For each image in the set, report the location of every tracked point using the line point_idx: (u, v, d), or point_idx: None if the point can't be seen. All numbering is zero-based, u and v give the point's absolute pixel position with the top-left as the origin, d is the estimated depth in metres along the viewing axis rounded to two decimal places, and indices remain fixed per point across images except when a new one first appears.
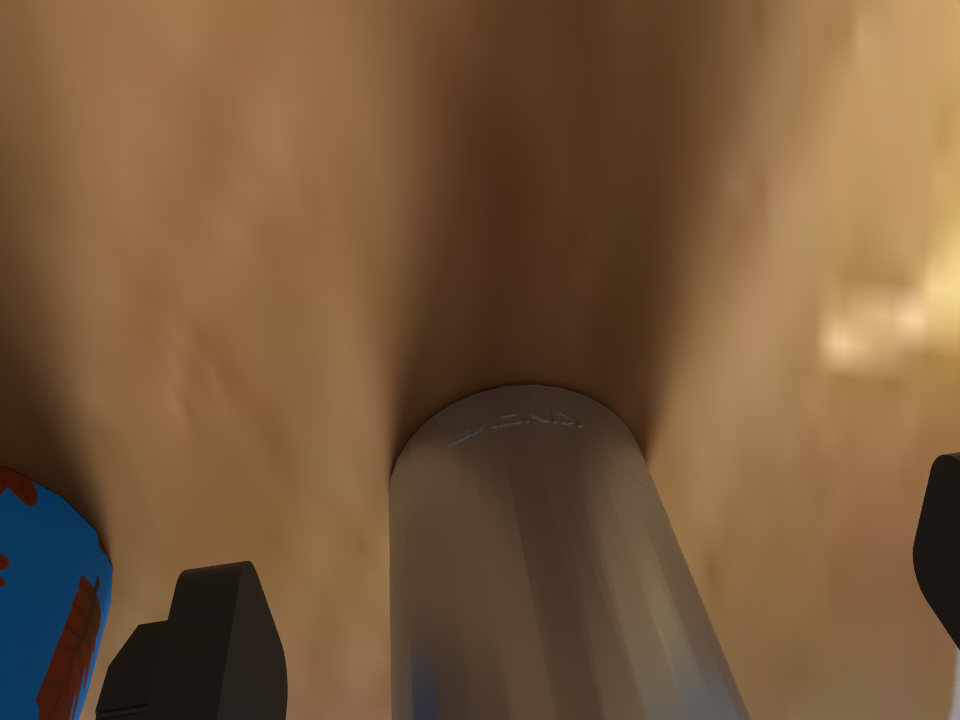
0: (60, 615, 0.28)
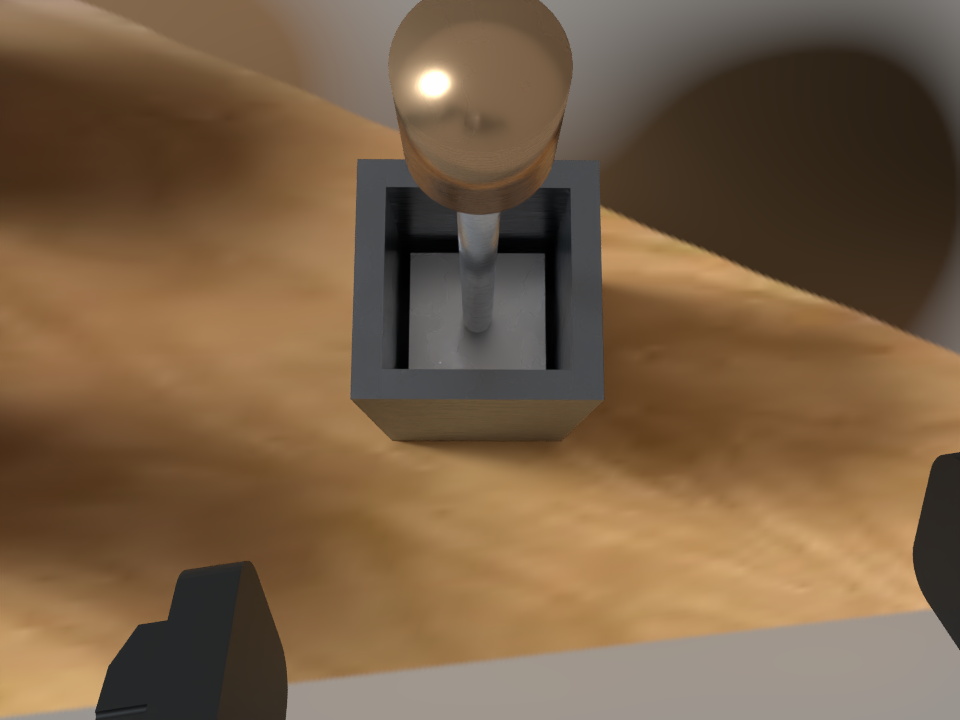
0: None
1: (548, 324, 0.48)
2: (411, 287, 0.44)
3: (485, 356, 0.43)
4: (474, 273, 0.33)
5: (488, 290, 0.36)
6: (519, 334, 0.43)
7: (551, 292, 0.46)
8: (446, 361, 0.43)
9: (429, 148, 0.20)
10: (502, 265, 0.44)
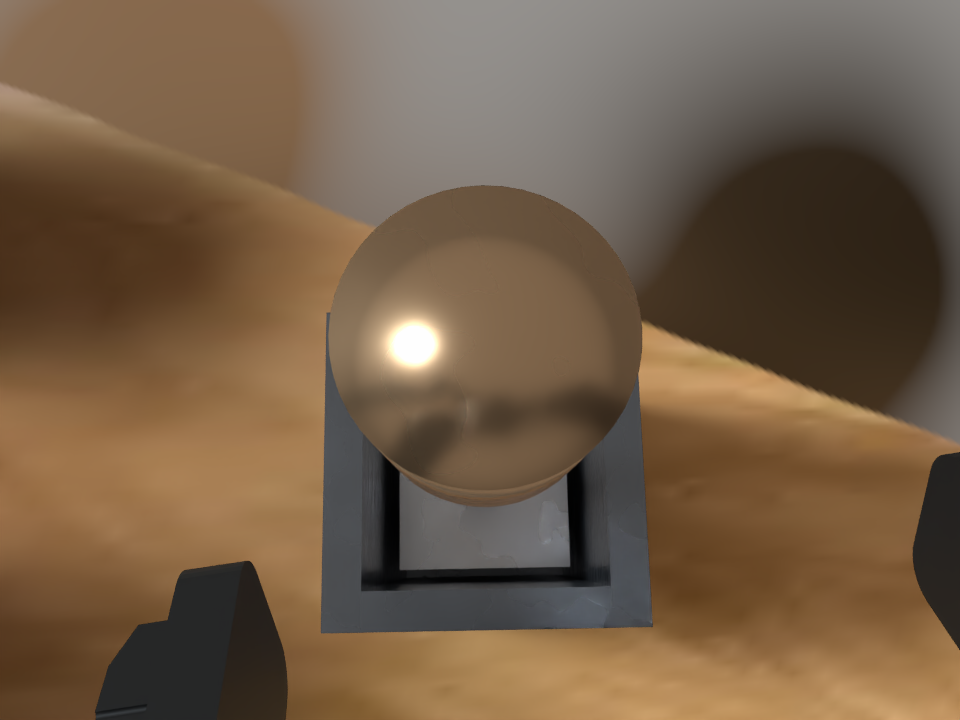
0: None
1: (568, 473, 0.40)
2: None
3: (494, 530, 0.35)
4: None
5: None
6: (535, 501, 0.35)
7: None
8: (446, 537, 0.35)
9: (402, 468, 0.12)
10: None
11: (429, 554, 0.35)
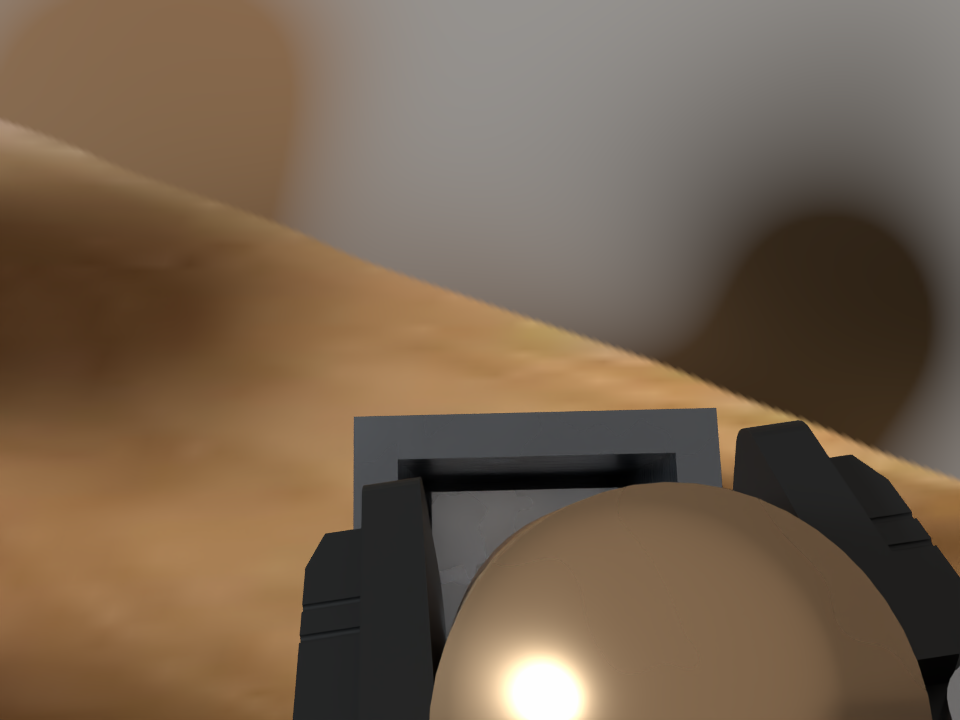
0: None
1: None
2: (434, 542, 0.31)
3: None
4: None
5: None
6: None
7: None
8: None
9: None
10: (559, 506, 0.32)
11: None
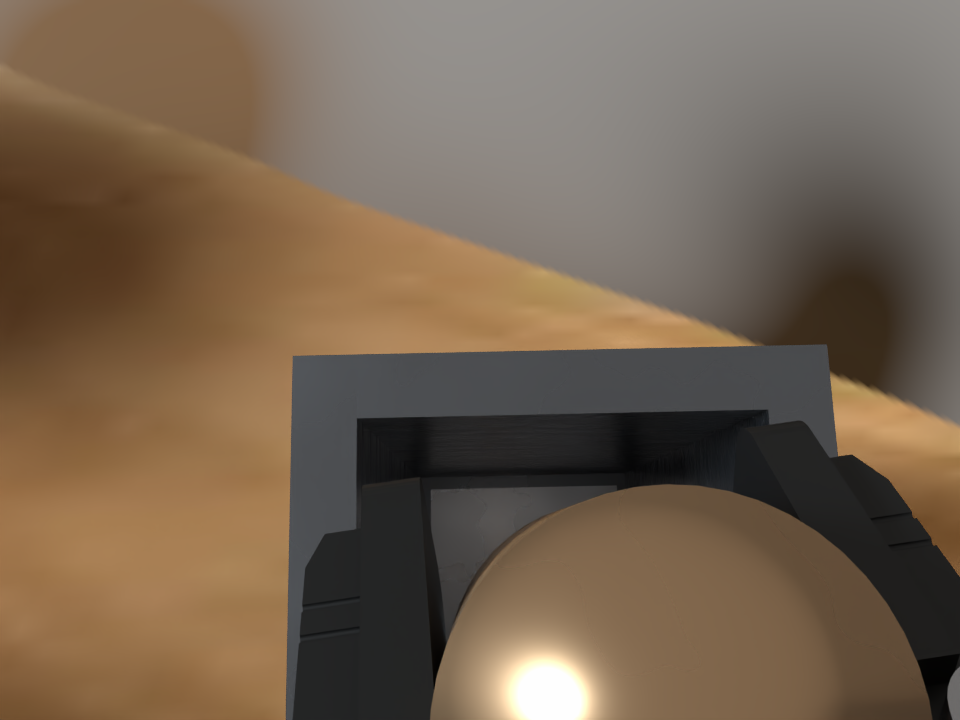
0: None
1: None
2: (433, 539, 0.31)
3: None
4: None
5: None
6: None
7: None
8: None
9: None
10: (558, 504, 0.32)
11: None
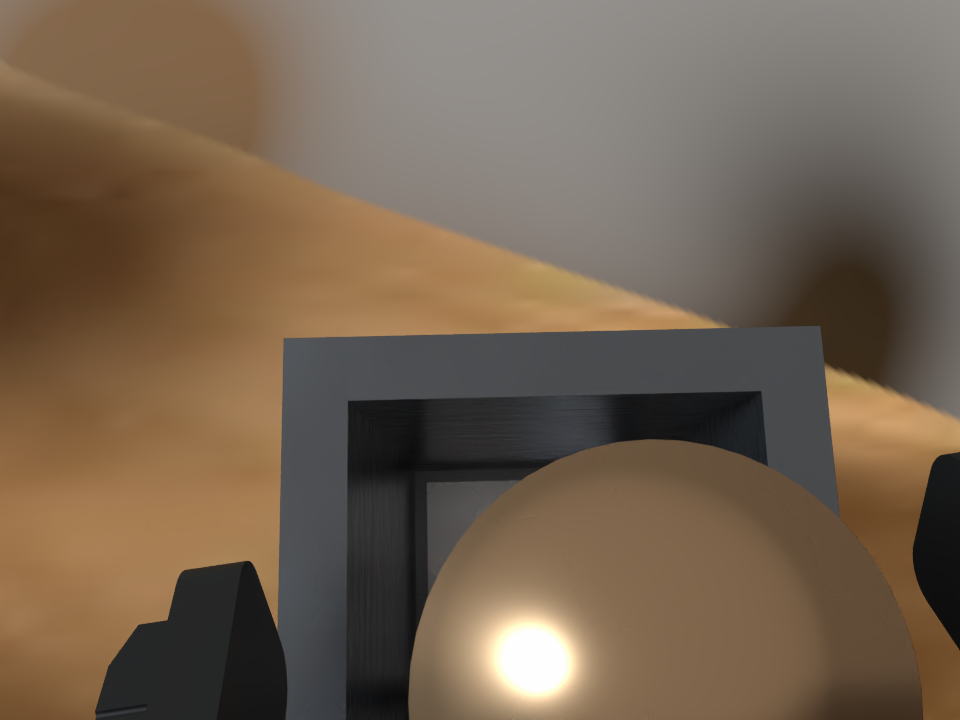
0: None
1: None
2: (429, 533, 0.31)
3: None
4: None
5: None
6: None
7: None
8: None
9: None
10: None
11: None
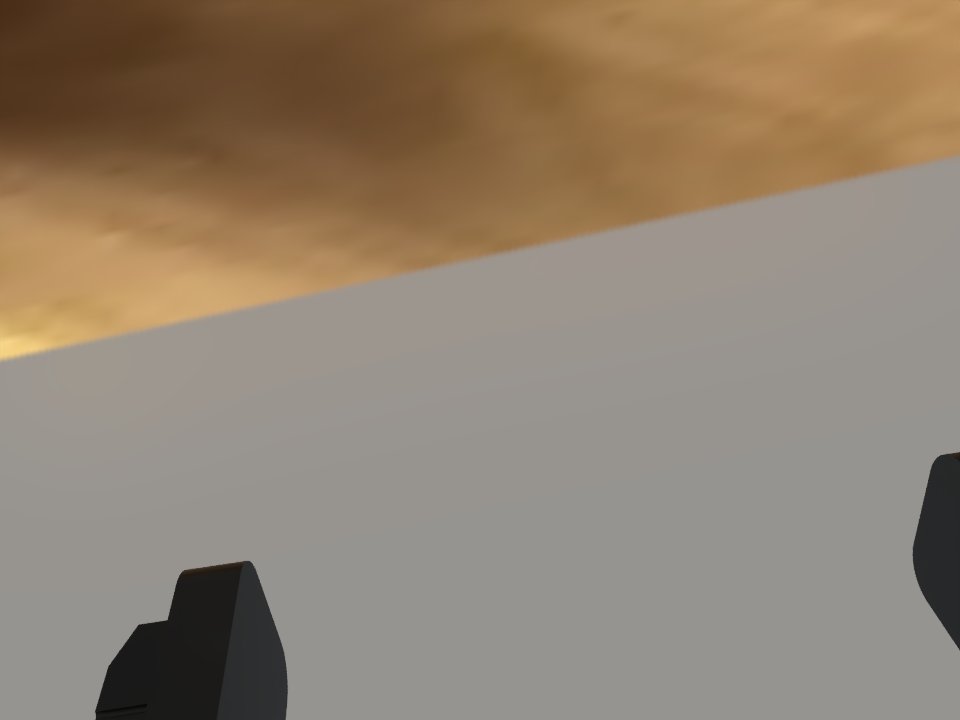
0: None
1: None
2: None
3: None
4: None
5: None
6: None
7: None
8: None
9: None
10: None
11: None
